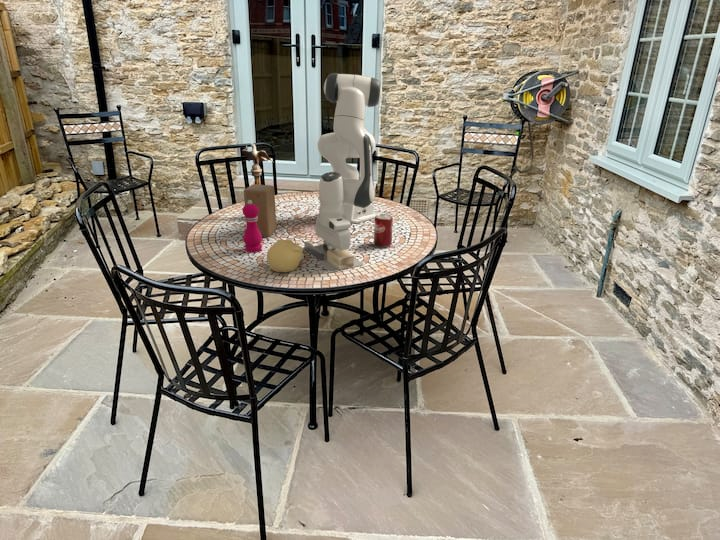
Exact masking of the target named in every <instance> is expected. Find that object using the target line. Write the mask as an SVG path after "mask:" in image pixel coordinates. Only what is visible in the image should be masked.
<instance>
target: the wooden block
mask: <svg viewBox="0 0 720 540" xmlns="http://www.w3.org/2000/svg"><path fill="white" fill-rule="evenodd" d="M275 197H276V196H275V185H268V184H260V185H257V184H255V183H253V184H251V185H249V186H248V187H246V188H245V189H243V200H244V206H245V205H246V204H248V203H247V202H248V200H251V201H252V204H255V205H256V206H257V207H258V210H259V212H258V214H257V216H258V220H257V227H258V230H259V231H260V233H261V235H262V238H269V237H271V235H273V234H274V233H275V232H276V231H277V228H278V227H277V215H276V214H277V213H276V198H275Z"/></svg>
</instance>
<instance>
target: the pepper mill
mask: <svg viewBox="0 0 720 540" xmlns="http://www.w3.org/2000/svg"><path fill="white" fill-rule="evenodd" d="M247 203H248V204H246V205H245V204H244V205H243V207H242V214H243V215H244V217H243V218H244V222H245V225H246V227H245V230H244V234H243V238H242V239H243V243H244V244H245V246H244V249H245V252H247V253H258V252H261V251H262V249H263V247H262V241H263V237H262V235H261V233H260V231H259V230H258V227H257V220H258V216H257V214H258V212H259V210H258V207H257V206H256V205H255V204H252V201H251V200H248V202H247Z"/></svg>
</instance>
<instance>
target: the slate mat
mask: <svg viewBox="0 0 720 540" xmlns="http://www.w3.org/2000/svg"><path fill="white" fill-rule="evenodd" d="M316 263H317V264H318V265H320V266H321V267H322V268H324V269H326V270H327V271H328V272H329V274H333V273H337V272H341V270H342V271H345V269H346V270H349V268H350V269H354V268H358V267H361V266H363V265H364V263H363V262H361V261H360V260H358V259H357V258H355V257H354V266H352V267H348V268H343V269H338V268H336V267H335V266H334V265H332V264H331V263H330V262H328V261H327V259H326V260H320V261H316ZM353 267H354V268H353Z"/></svg>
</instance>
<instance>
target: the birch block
mask: <svg viewBox="0 0 720 540" xmlns="http://www.w3.org/2000/svg"><path fill="white" fill-rule="evenodd" d="M354 258H355V255H353V254H352V253H350V252H349V251H347V250H343V251H340V250H339V249H333V250H328V251H327V259H326V260H327V261H328V262H330V263H331V264H332V265H334V266H335V267H336V268H338V269H340V270H343V268H344V269H347V268H351V267H355V266H354Z"/></svg>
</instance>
